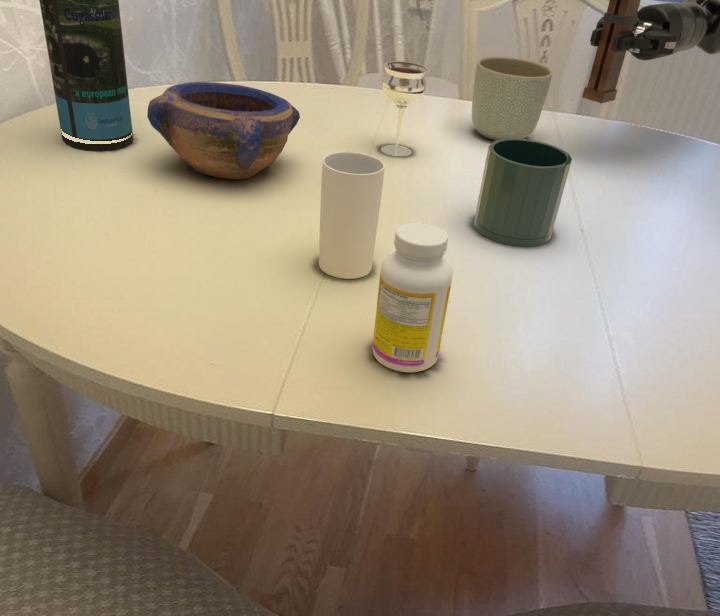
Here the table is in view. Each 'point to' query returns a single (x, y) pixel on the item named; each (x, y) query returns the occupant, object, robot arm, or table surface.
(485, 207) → the crock
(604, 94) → the tongs
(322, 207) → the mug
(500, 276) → the table surface
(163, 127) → the bowl
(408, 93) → the wineglass
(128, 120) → the advertising column
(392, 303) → the supplement bottle
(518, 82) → the planter
